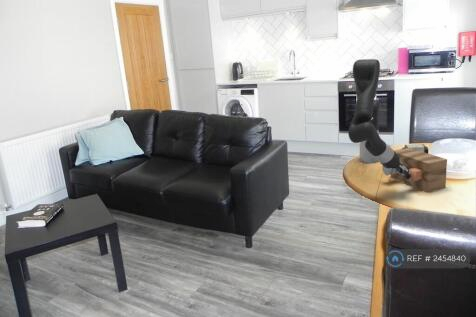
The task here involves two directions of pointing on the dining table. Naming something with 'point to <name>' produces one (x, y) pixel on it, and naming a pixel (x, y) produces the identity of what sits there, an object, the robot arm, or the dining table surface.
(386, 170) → the grey plug
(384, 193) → the dining table surface
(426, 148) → the pneumatic valve
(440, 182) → the socket block
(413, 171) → the terracotta plug
